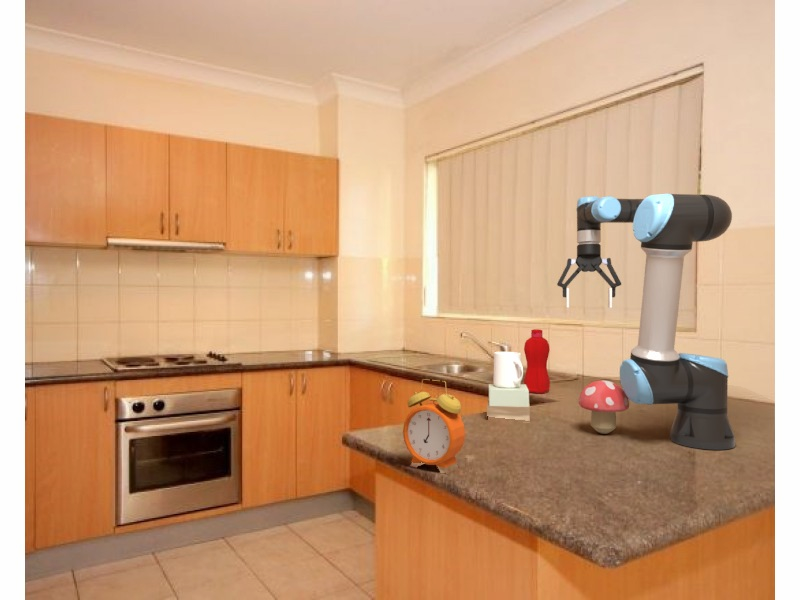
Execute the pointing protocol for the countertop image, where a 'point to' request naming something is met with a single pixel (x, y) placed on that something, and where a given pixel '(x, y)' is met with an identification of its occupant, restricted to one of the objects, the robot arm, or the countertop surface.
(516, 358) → the mug
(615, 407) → the decorative mushroom
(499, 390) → the tower top
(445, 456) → the alarm clock
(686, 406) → the robot arm
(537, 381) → the water bottle
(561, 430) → the countertop surface
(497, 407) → the tower base
